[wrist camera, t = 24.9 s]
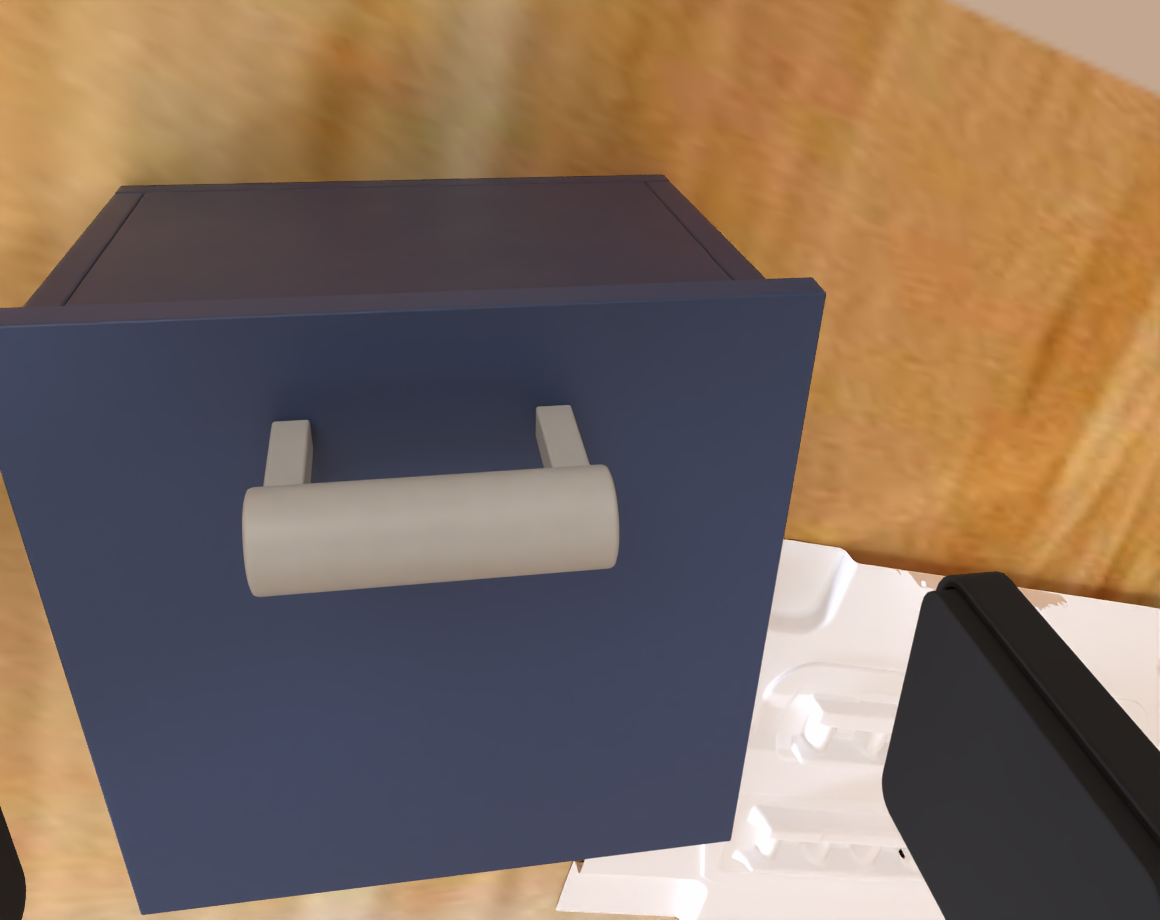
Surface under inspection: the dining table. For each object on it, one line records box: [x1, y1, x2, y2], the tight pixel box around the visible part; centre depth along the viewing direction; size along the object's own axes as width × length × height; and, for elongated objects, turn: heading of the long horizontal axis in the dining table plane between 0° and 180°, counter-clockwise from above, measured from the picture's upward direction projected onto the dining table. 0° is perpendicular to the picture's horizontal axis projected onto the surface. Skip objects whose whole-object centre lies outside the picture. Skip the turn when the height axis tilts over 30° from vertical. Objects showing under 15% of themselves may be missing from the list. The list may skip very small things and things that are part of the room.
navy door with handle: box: [0, 277, 826, 915], centre depth 22 cm, size 16×16×5 cm
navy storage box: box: [23, 175, 766, 307], centre depth 30 cm, size 16×16×11 cm
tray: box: [556, 539, 1160, 920], centre depth 45 cm, size 20×28×4 cm
